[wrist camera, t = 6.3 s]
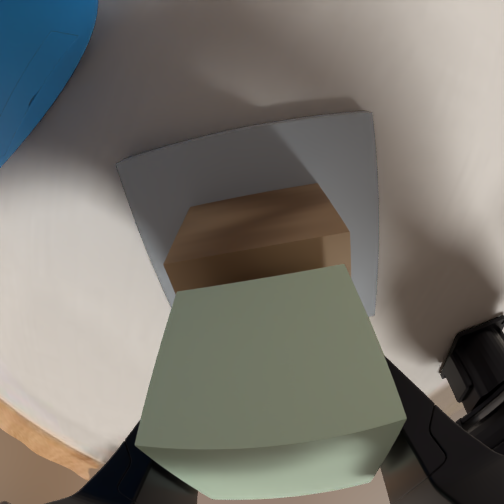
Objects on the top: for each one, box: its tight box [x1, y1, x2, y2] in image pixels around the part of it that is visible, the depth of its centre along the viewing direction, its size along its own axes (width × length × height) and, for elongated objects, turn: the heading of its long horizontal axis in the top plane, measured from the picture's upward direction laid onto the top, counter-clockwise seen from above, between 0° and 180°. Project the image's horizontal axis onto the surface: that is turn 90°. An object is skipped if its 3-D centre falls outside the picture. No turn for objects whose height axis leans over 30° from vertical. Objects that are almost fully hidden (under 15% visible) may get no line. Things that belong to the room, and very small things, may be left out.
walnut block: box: [163, 183, 351, 294], centre depth 13 cm, size 6×6×5 cm
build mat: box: [116, 111, 379, 317], centre depth 15 cm, size 12×12×1 cm
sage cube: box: [135, 264, 407, 500], centre depth 8 cm, size 5×5×5 cm
